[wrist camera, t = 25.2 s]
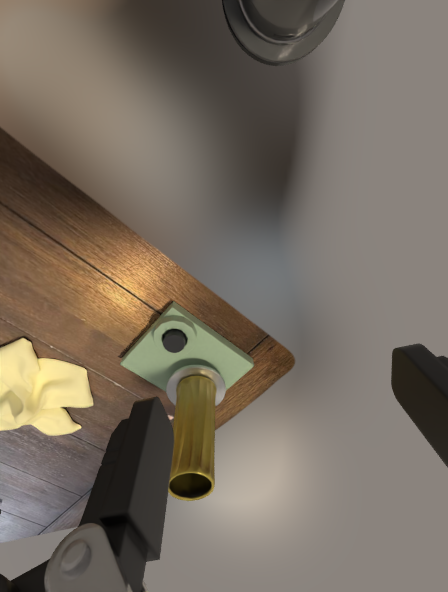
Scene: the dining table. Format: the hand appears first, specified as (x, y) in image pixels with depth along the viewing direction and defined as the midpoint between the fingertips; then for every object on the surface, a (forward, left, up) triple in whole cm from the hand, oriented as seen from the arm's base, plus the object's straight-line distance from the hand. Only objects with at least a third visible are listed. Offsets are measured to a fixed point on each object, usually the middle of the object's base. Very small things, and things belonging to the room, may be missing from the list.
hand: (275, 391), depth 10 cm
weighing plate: (+23, -11, -27) cm, 37 cm away
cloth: (+21, -38, -30) cm, 53 cm away
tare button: (+14, -11, -27) cm, 32 cm away
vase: (+23, -10, -26) cm, 37 cm away
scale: (+20, -11, -30) cm, 38 cm away
